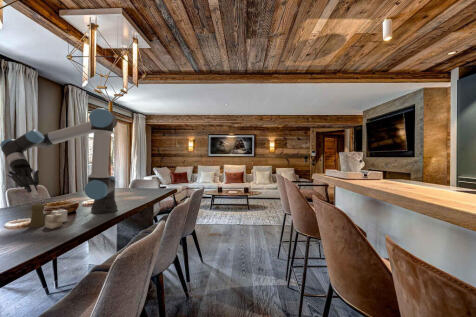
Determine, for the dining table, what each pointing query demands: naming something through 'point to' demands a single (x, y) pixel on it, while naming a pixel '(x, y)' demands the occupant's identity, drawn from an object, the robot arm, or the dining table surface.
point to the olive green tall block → (37, 216)
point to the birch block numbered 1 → (53, 220)
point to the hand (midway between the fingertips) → (35, 196)
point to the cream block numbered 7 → (61, 213)
